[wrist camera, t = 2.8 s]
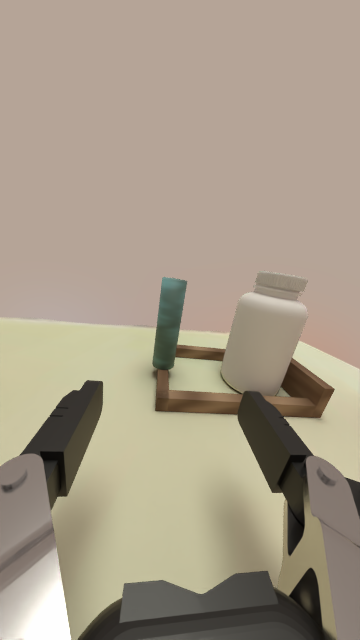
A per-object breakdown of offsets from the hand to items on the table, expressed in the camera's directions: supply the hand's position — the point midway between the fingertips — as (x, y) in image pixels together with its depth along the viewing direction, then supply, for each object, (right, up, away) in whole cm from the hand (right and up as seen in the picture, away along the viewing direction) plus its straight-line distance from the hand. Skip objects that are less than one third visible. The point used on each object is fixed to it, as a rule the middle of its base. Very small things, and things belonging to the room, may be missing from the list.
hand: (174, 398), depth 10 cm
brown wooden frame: (+7, -4, +15) cm, 16 cm away
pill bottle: (+10, -4, +15) cm, 19 cm away
